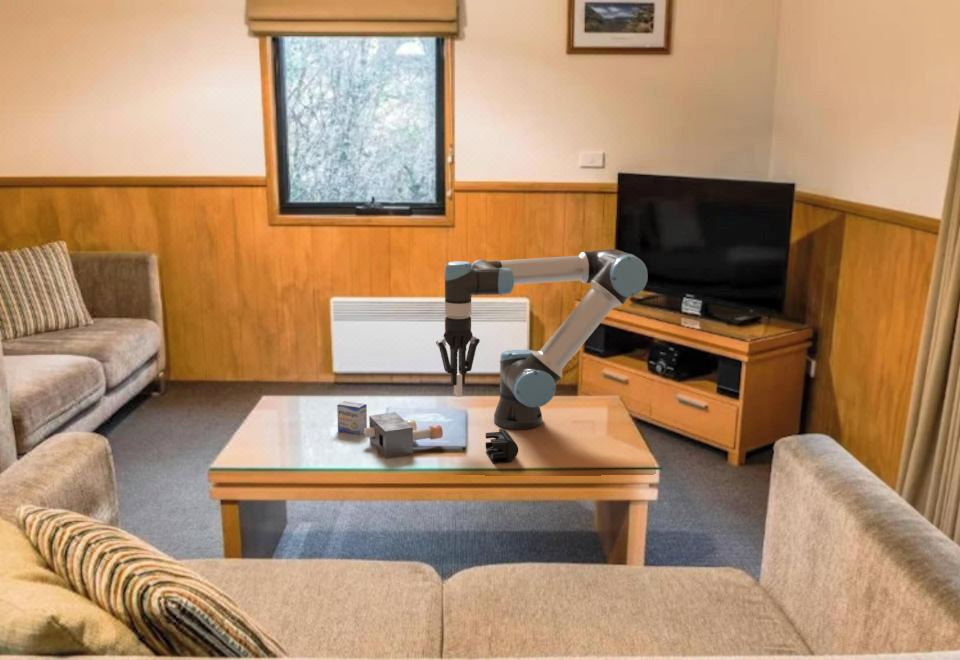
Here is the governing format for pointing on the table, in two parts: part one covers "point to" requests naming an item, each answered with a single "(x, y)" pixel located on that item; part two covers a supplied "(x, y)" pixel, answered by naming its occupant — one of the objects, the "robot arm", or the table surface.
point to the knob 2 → (428, 433)
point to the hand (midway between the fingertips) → (457, 395)
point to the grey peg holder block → (391, 435)
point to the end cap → (501, 447)
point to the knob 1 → (371, 431)
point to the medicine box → (352, 417)
